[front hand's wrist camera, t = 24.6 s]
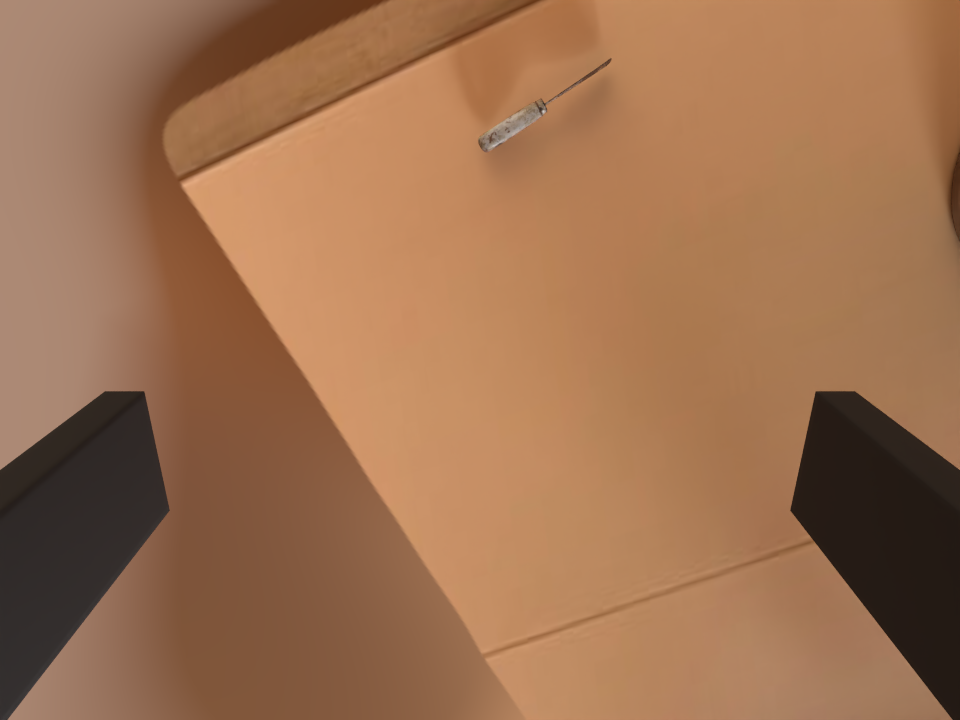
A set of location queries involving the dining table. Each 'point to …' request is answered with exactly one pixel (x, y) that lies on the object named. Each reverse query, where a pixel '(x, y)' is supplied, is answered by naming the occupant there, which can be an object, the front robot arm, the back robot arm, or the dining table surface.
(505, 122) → the putty knife
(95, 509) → the front robot arm
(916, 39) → the dining table surface
